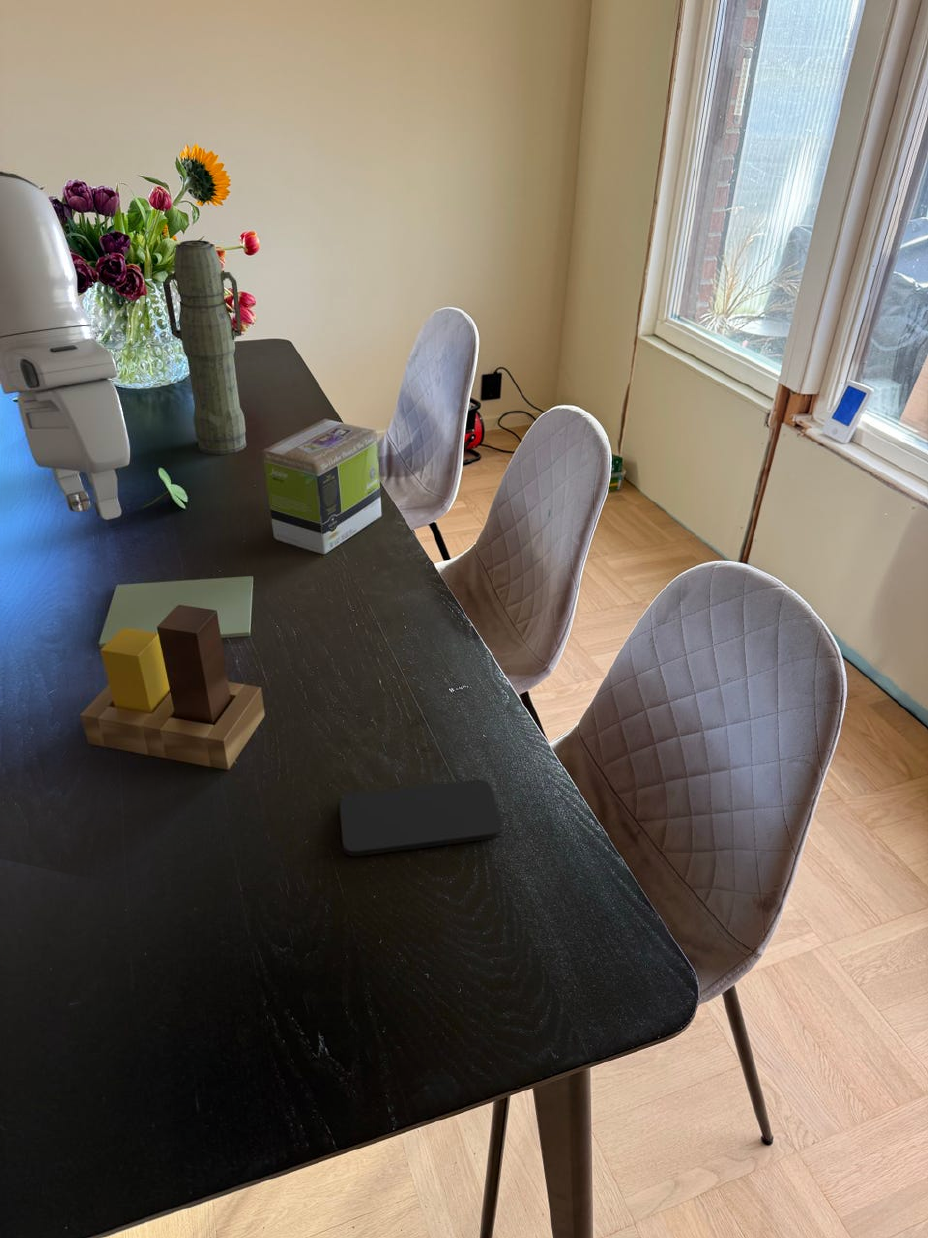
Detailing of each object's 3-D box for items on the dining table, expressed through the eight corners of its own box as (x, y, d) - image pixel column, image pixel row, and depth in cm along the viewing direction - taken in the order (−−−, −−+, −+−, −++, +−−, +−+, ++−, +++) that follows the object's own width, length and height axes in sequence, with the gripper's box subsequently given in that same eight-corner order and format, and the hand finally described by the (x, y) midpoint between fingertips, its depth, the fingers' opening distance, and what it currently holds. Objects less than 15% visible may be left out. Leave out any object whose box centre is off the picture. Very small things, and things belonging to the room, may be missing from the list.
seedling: (165, 532, 140) (198, 509, 140) (141, 523, 132) (175, 499, 132) (144, 497, 141) (175, 474, 140) (118, 486, 133) (152, 462, 133)
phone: (338, 795, 84) (488, 777, 86) (339, 801, 84) (488, 783, 86) (343, 853, 77) (504, 832, 80) (343, 859, 78) (504, 839, 80)
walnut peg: (181, 744, 90) (156, 626, 82) (199, 719, 94) (178, 604, 86) (217, 751, 90) (196, 633, 81) (235, 725, 93) (216, 610, 85)
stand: (88, 744, 90) (79, 714, 88) (134, 692, 97) (127, 664, 95) (228, 770, 87) (223, 741, 85) (265, 715, 95) (261, 687, 92)
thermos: (187, 439, 161) (155, 238, 141) (251, 434, 164) (228, 236, 145) (190, 457, 154) (156, 249, 134) (257, 451, 157) (233, 246, 138)
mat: (99, 647, 104) (98, 643, 104) (117, 588, 116) (116, 584, 116) (250, 636, 107) (249, 632, 107) (253, 579, 119) (252, 575, 119)
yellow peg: (121, 733, 92) (99, 649, 86) (142, 709, 95) (122, 627, 89) (157, 739, 91) (137, 656, 85) (176, 715, 94) (159, 633, 88)
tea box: (332, 503, 140) (326, 415, 131) (382, 518, 136) (380, 428, 127) (271, 539, 129) (260, 446, 120) (324, 557, 125) (317, 462, 116)
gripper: (-11, 378, 84) (34, 514, 89) (42, 365, 69) (93, 531, 73) (55, 367, 88) (95, 499, 92) (120, 353, 72) (164, 513, 77)
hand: (95, 514), depth 82 cm, fingers open, 8 cm apart
